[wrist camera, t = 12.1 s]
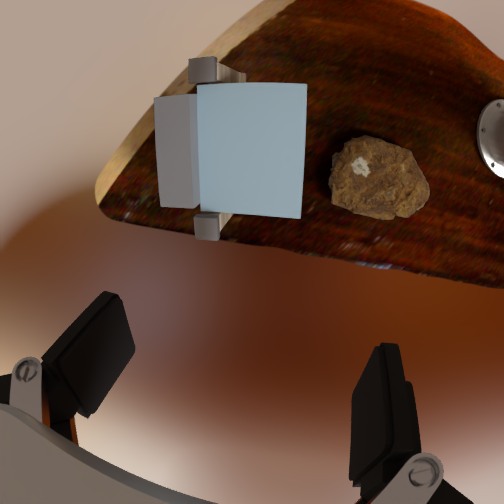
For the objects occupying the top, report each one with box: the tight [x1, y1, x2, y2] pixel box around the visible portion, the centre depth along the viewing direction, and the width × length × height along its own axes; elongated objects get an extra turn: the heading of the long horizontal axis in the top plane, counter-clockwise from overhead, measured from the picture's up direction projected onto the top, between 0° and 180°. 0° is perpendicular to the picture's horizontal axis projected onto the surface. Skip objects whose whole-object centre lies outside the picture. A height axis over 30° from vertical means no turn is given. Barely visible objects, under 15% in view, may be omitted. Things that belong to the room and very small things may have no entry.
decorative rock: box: [328, 135, 430, 220], centre depth 36 cm, size 11×4×15 cm
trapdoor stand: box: [189, 56, 246, 241], centre depth 33 cm, size 3×20×13 cm, turn 0°
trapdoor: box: [154, 83, 307, 219], centre depth 29 cm, size 15×14×5 cm
